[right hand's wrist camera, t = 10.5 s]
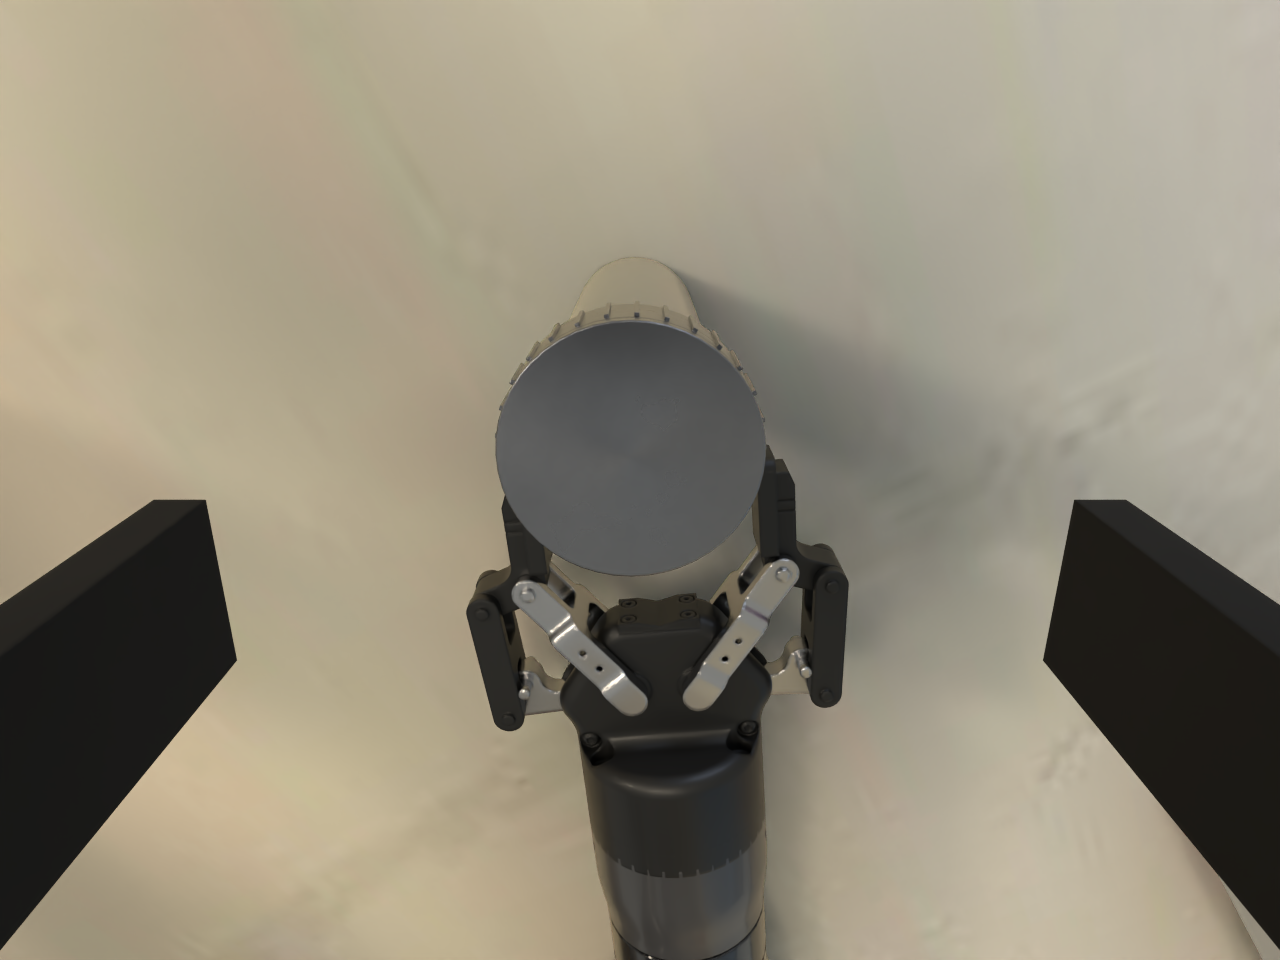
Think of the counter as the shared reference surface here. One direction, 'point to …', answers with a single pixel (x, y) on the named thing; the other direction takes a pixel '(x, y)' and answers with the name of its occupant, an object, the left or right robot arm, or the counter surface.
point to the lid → (630, 441)
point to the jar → (636, 287)
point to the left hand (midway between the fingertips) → (643, 461)
